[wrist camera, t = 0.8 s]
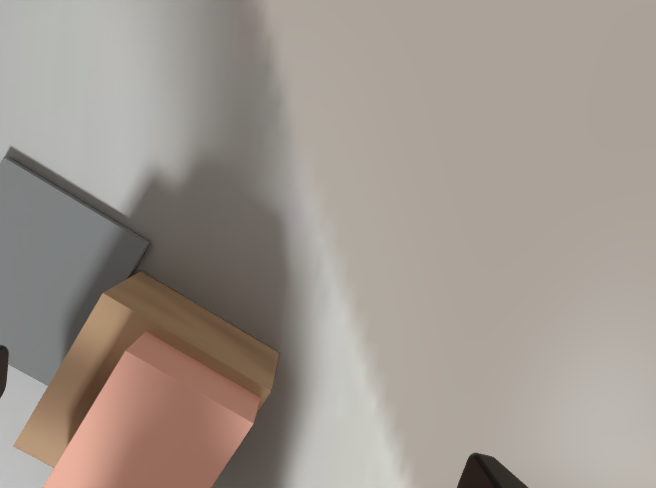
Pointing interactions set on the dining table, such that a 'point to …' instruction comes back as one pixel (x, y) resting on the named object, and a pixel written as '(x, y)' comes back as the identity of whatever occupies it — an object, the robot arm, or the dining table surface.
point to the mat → (53, 267)
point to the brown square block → (117, 336)
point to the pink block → (157, 424)
